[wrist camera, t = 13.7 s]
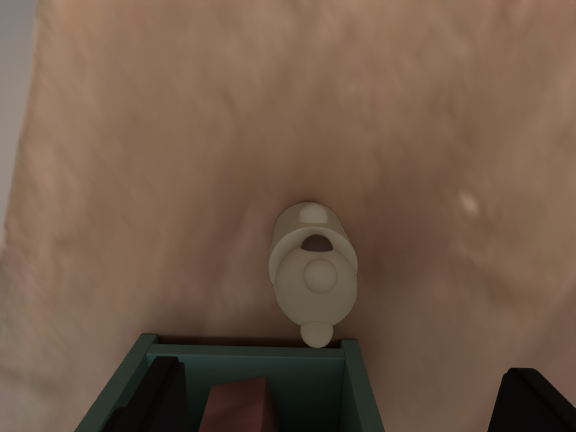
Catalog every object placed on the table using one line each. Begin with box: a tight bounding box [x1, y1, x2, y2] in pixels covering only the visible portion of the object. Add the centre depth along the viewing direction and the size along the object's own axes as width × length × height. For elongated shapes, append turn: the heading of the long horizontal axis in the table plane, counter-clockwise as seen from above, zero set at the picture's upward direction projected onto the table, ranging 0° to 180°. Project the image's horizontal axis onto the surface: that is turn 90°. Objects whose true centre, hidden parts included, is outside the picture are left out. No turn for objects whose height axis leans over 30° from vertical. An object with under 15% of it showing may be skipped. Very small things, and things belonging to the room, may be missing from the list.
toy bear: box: [268, 202, 358, 348], centre depth 16 cm, size 5×6×9 cm
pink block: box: [198, 376, 280, 432], centre depth 20 cm, size 4×4×4 cm
